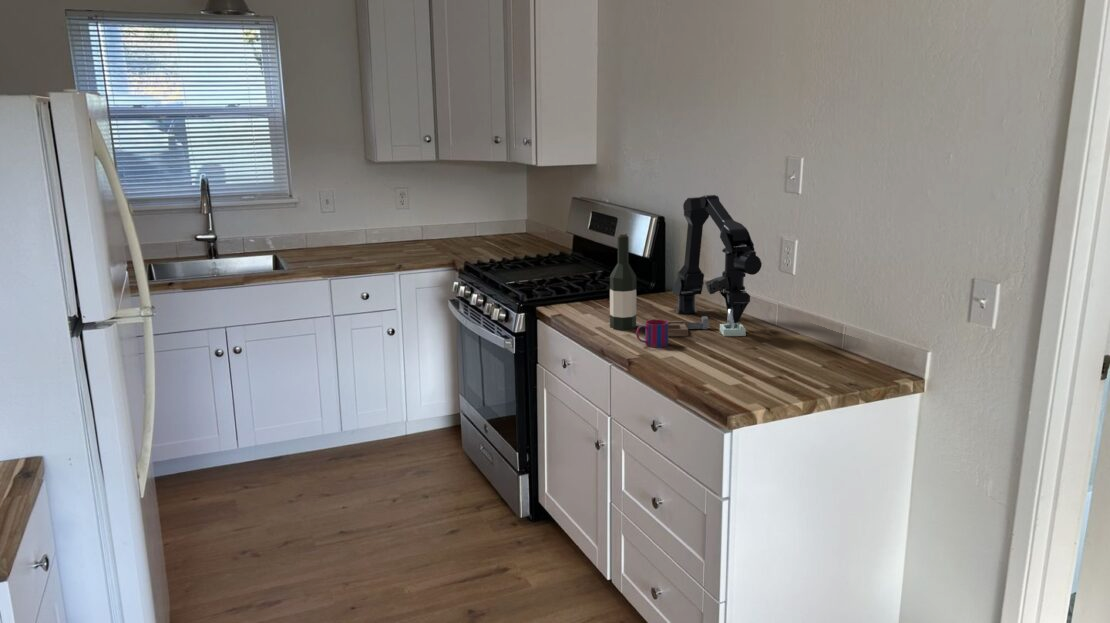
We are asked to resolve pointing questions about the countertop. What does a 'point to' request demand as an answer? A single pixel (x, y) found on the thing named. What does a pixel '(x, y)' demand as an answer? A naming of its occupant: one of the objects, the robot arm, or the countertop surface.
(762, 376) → the countertop surface
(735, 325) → the polished steel rod
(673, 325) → the socket block
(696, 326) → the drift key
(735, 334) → the tray
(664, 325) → the mug
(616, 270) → the wine bottle
